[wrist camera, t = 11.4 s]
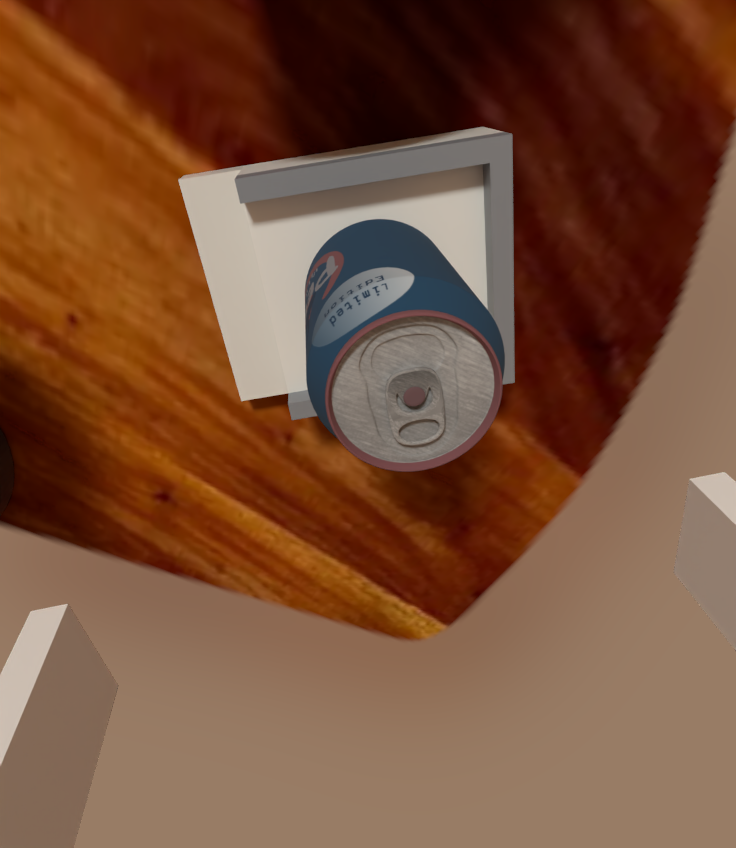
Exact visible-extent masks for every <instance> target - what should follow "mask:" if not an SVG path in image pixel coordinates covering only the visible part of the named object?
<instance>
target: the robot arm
mask: <svg viewBox="0 0 736 848" xmlns="http://www.w3.org/2000/svg"><path fill="white" fill-rule="evenodd" d="M13 485H14V466H13V460H12V455H11V452H10V449H9V446H8V443H7V441H6V439H5V436H4V434H3V432H2V431H1V429H0V516H1V514H2V513H3V511H4V510H5V508H6V506H7V504H8V502H9V500H10V497H11V494H12V490H13ZM674 573H675V575H676V576H677V577H678V579H679V580H680V581H681V582H682V584H683V585H684V586H685V587H686V589H687V590H688V591H689V592H690V594H691V595H692V596H693V597H694V599H695V600H696V601H697V603H698V604H699V605H700V606H701V608H702V609H703V610H704V612H705V613H706V614H707V615H708V616H709V618H710V619H711V620H712V622H713V623H714V624H715V626H716V627H717V628H718V629H719V630H720V632H721V633H722V634H723V636H724V637H725V638H726V639H727V641H728V642H729V643H730V644H731V646H732V647H733V648H734V650H735V651H736V482H735V481H734V480H733V479H732V478H731V477H730V476H729V475H727V474H726V473H725V472H723V473H717V474H713V475H708V476H702V477H697V478H692V479H689V484H688V490H687V496H686V502H685V508H684V514H683V520H682V526H681V532H680V537H679V544H678V549H677V555H676V561H675V567H674ZM117 689H118V684H117V683H116V681H115V680H114V678H113V676H112V675H111V673H110V671H109V670H108V668H107V667H106V665H105V664H104V662H103V660H102V658H101V657H100V655H99V654H98V652H97V650H96V648H95V647H94V645H93V644H92V642H91V640H90V639H89V637H88V635H87V634H86V632H85V631H84V629H83V627H82V626H81V624H80V622H79V621H78V619H77V617H76V616H75V614H74V613H73V611H72V609H71V608H70V606H69V605H68V604H64V605H59V606H54V607H49V608H44V609H39V610H34V611H31V612H30V614H29V616H28V618H27V620H26V622H25V624H24V626H23V628H22V630H21V632H20V634H19V636H18V639H17V641H16V643H15V645H14V647H13V649H12V651H11V653H10V655H9V657H8V659H7V661H6V664H5V666H4V668H3V670H2V672H1V674H0V848H74V845H75V841H76V837H77V834H78V830H79V826H80V823H81V819H82V816H83V812H84V808H85V804H86V801H87V798H88V794H89V790H90V786H91V783H92V779H93V776H94V772H95V769H96V765H97V761H98V758H99V754H100V750H101V747H102V743H103V740H104V736H105V732H106V729H107V725H108V721H109V718H110V714H111V711H112V707H113V703H114V700H115V696H116V692H117Z"/></svg>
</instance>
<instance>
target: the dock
mask: <svg viewBox="0 0 736 848" xmlns="http://www.w3.org/2000/svg"><path fill="white" fill-rule="evenodd" d="M178 181H179V184H180V188H181V191H182V195H183V198H184V202H185V205H186V209H187V212H188V216H189V219H190V223H191V226H192V230H193V233H194V237H195V240H196V244H197V247H198V251H199V255H200V258H201V262H202V265H203V269H204V272H205V276H206V279H207V283H208V286H209V290H210V293H211V297H212V300H213V304H214V307H215V311H216V314H217V318H218V321H219V325H220V328H221V332H222V335H223V339H224V342H225V346H226V349H227V353H228V356H229V360H230V363H231V367H232V370H233V374H234V377H235V381H236V384H237V388H238V391H239V395H240V398H241V401H245V400H251V399H257V398H263V397H269V396H275V395H281V394H287V393H288V406H289V410H290V414H291V418H292V420H295V419H301V418H307V417H313V416H317V414H316V412H315V410H314V408H313V406H312V403H311V401H310V397H309V394H308V389H307V382H306V334H305V284H306V278H307V274H308V271H309V268H310V265H311V263H312V261H313V259H314V257H315V256H316V254H317V253H318V251H319V250H320V248H321V247H322V246H323V245H324V244H325V243H326V242H327V241H328V240H329V239H330V238H331V237H332V236H333V235H335V234H336V233H337V232H339V231H340V230H342V229H344V228H346V227H348V226H350V225H352V224H355V223H358V222H361V221H365V220H372V219H389V220H395V221H399V222H402V223H405V224H408V225H410V226H412V227H414V228H416V229H418V230H419V231H421V232H422V233H424V234H425V235H426V236H427V237H428V238H429V239H430V240H431V241H432V242H433V243H434V244H435V245H436V246H437V248H438V249H439V250H440V251H441V253H442V254H443V255H444V256H445V258H446V259H447V260H448V261H449V263H450V264H451V265H452V266H453V268H454V269H455V270H456V271H457V273H458V274H459V275H460V276H461V277H462V279H463V280H464V281H465V282H466V284H467V285H468V286H469V287H470V289H471V290H472V291H473V292H474V294H475V295H476V296H477V297H478V299H479V300H480V301H481V302H482V304H483V305H484V306H485V307H486V309H487V310H488V311H489V313H490V314H491V315H492V317H493V319H494V320H495V322H496V324H497V326H498V328H499V331H500V334H501V337H502V340H503V345H504V353H505V368H504V376H503V384H509V383H515V379H514V266H513V153H512V134H511V133H506V132H502V131H498V130H494V129H490V128H486V127H479V128H473V129H466V130H460V131H454V132H448V133H442V134H436V135H430V136H423V137H417V138H411V139H405V140H399V141H393V142H387V143H380V144H374V145H368V146H362V147H356V148H350V149H344V150H337V151H331V152H325V153H319V154H313V155H307V156H300V157H294V158H288V159H282V160H276V161H270V162H264V163H257V164H251V165H245V166H239V167H233V168H227V169H221V170H214V171H208V172H202V173H196V174H190V175H184V176H182V177H181V178H180V179H179V180H178Z"/></svg>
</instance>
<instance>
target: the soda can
mask: <svg viewBox="0 0 736 848" xmlns="http://www.w3.org/2000/svg"><path fill="white" fill-rule="evenodd" d="M305 334H306V382H307V389H308V394H309V397H310V401H311V403H312V406H313V408H314V410H315V412H316V414H317V416H318V417H319V419H320V420H321V422H322V423H323V424H324V426H325V427H326V428H327V429H328V430H329V431H330V432H331V433H332V434H333V435H334V436H335V437H336V438H338V439H339V441H340V442H341V443H342V444H343V446H344V447H345V448H346V449H347V450H348V451H349V452H351V453H352V454H353V455H355V456H356V457H357V458H359V459H361V460H362V461H364V462H366V463H368V464H370V465H373V466H375V467H378V468H382V469H386V470H391V471H399V472H414V471H422V470H427V469H432V468H435V467H438V466H441V465H444V464H446V463H448V462H451V461H452V460H454V459H456V458H458V457H460V456H461V455H463V454H464V453H466V452H467V451H468V450H469V449H471V448H472V447H473V446H474V445H475V444H476V443H477V442H478V441H479V440H480V439H481V438H482V437H483V436H484V434H485V433H486V432H487V430H488V429H489V428H490V426H491V424H492V423H493V421H494V419H495V417H496V414H497V412H498V409H499V406H500V402H501V397H502V388H503V376H504V368H505V353H504V345H503V340H502V337H501V334H500V331H499V328H498V326H497V324H496V322H495V320H494V319H493V317H492V315H491V314H490V313H489V311H488V310H487V309H486V307H485V306H484V305H483V304H482V302H481V301H480V300H479V299H478V297H477V296H476V295H475V294H474V292H473V291H472V290H471V289H470V287H469V286H468V285H467V284H466V282H465V281H464V280H463V279H462V277H461V276H460V275H459V274H458V273H457V271H456V270H455V269H454V268H453V266H452V265H451V264H450V263H449V261H448V260H447V259H446V258H445V256H444V255H443V254H442V253H441V251H440V250H439V249H438V248H437V246H436V245H435V244H434V243H433V242H432V241H431V240H430V239H429V238H428V237H427V236H426V235H425V234H424V233H422V232H421V231H419V230H418V229H416V228H414V227H412V226H410V225H408V224H405V223H402V222H399V221H395V220H389V219H372V220H365V221H361V222H358V223H355V224H352V225H350V226H348V227H346V228H344V229H342V230H340V231H339V232H337V233H336V234H335V235H333V236H332V237H331V238H330V239H329V240H328V241H327V242H326V243H325V244H324V245H323V246H322V247H321V248H320V250H319V251H318V253H317V254H316V256H315V257H314V259H313V261H312V263H311V265H310V268H309V271H308V274H307V278H306V284H305Z"/></svg>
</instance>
